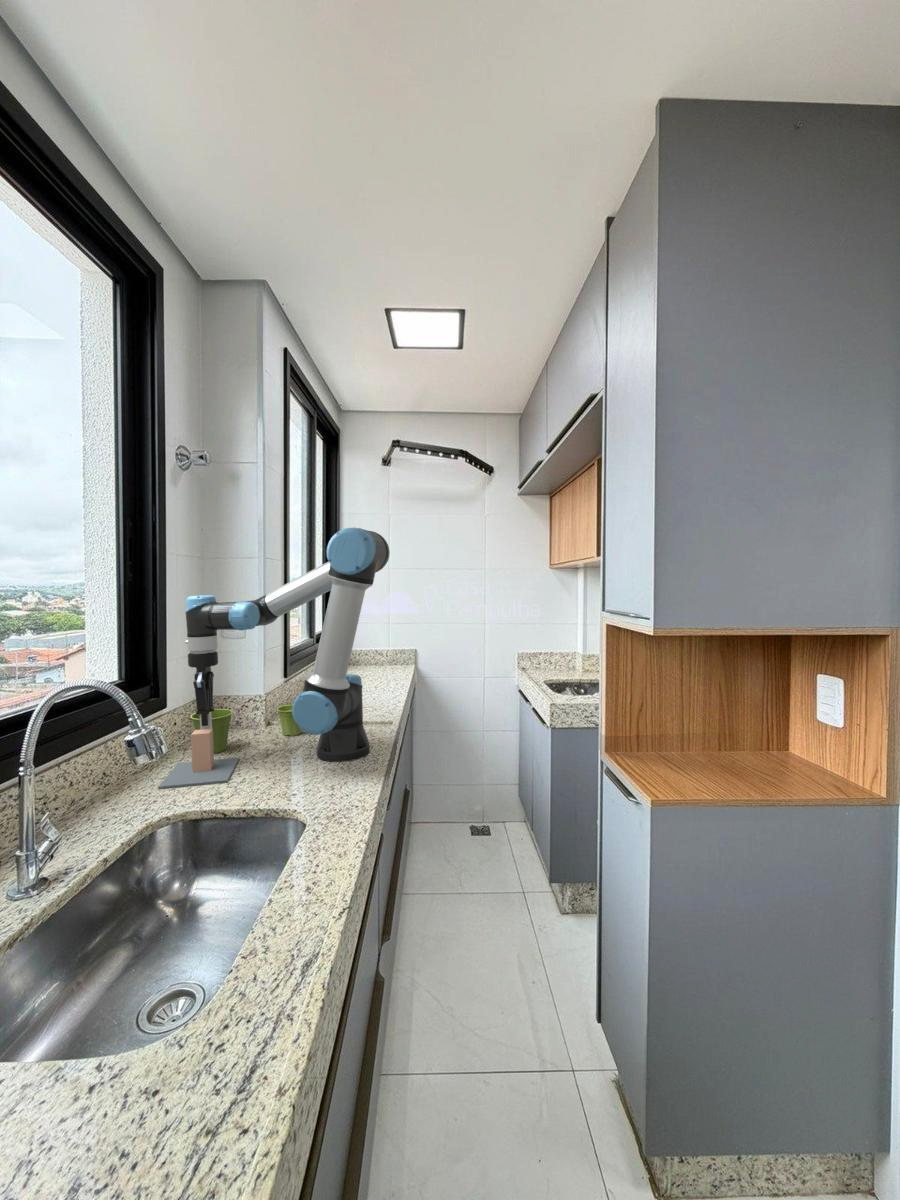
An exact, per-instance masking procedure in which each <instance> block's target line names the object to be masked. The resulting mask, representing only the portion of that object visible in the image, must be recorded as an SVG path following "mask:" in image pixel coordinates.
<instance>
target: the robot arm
mask: <svg viewBox="0 0 900 1200" xmlns="http://www.w3.org/2000/svg"><path fill="white" fill-rule="evenodd" d="M390 555H391V553H390V547H389V544H388V542H387V540H386V539H385V537H384V536H382V535H381V534H379V533H378V532H376V531H373V530H368V529H364V528H360V527H355V526H354V527H346V528H343V529H340V530H339V531H337V532H336V533H335V534H333V535H332V537H330V540H329V541H328V543H327V546H326V558H327V562H325V563H323V564H320V565H319V566H317V567H316V568H313V569H311V570H310V571H308V572H306V573H304V574H302V575H299V576H298V577H297V578H294V579H292V580H291V581H288V582H287V583H285V584H283V585H281V586H279V587H277V588H275V589H274V590H271V591H270V592H268V593H266V594H265V595H263V596H260V597H258V598H256V599H254V600H246V601H245V600H244V601H229V602H228V601H227V602H218V601H217V600H216V597H215V596H214V595H212V594H211V595H208V594H207V595H190V596H188V597H187V598H185V612H184V613H185V619H186V620H185V621H186V630H187V631H186V633H187V634H186V638H187V639H186V640H185V641H184V643H185V644H186V645H187V651H188V652H189V653H188V654H187V663H188V664H187V666H188V667H190V668H195V669H196V671H195V673H194V680H193V682H192V683H193V687H194V694H195V702H196V703H195V704H196V710H197V711H196V712H195V713H196V714H200V730H202V729H212V716H211V711H214V709H215V708H214V676H215V674H214V672H213V671H212V668H211V667H214V666H217V665H218V664H219V654H218V653H219V652H218V648H219V647H218V645H219V644H218V633H217V632H218V631H223V630H224V631H225V630H226V631H231V630H232V631H247V630H253V629H255V628H256V627H259V626H261V627H262V626H267V625H270V624H272V623H274V622H275V621H276V620H277V619H278V618H280V617H281V616H283V615H285V614H287V613H289V612H291V611H293V610H295V609H296V608H299V607H300V606H302V605H303V606H304V604H306V603H308V602H311V601H312V600H314V599H316V598H318V597H320V596H323V595H324V594H326V593H328V592H330V593H329V597H328V602H327V608H326V612H325V615H324V621H323V625H322V630H321V634H320V639H319V643H318V647H317V651H316V652H317V653H316V656H315V661H314V666H313V669H312V670H313V671H312V672H311V673H309V674H307V675H306V676H305V679H304V684H303V688H302V692H301V693H299V694H298V695H297V696H296V698H295V700H294V701H293V703H292V705H293V707H292V714H293V718H294V721H295V722H296V723H297V725H298V727H299V728H300V729H302V732H305V733H307V734H309V735H313V736H315V735H316V736H319V739H318V742H317V746H316V758H318V759H319V760H321V761H325V762H334V763H337V762H339V763H340V762H351V761H355V760H359V759H361V758H364V757H366V756H368V755H369V754H370V753H371V747H370V744H371V743H370V740H369V738H368V735H367V733H366V729H365V727H364V713H363V709H364V707H363V682H362V676H360V675H358V674H356V673H355V674H353V673H351V674H350V673H349V674H348V669H349V664H350V659H351V655H352V650H353V647H354V642H355V639H356V633H357V629H358V625H359V620H360V616H361V612H362V607H363V601H364V597H365V593H366V590H368V589H369V588H371V587H372V586H373V585H374V581H375V575H376V573H378V572H379V571H382V570H383V569H384V568H385V566H386V565H387V563H388V562H389V559H390Z"/></svg>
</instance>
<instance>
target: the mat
mask: <svg viewBox="0 0 900 1200" xmlns="http://www.w3.org/2000/svg"><path fill="white" fill-rule="evenodd" d="M239 761H240V757H232V758H231V757H229V758H218V759H214V766H213V768H212V769H211V770H210V771H200V772H193V770H192V761H186V762H185V761H183V762H177V764H176V765H175V766H174V767H173V769H172V770H171V771H170V772H169V773H168V774H167V776H166V777H165V778H163V781H162V782H161V783H160V784H159V785H158V786H157V789H158V790H164V789H174V788H185V787H194V786H195V787H196V786H206V785H215V784H224V783H225V784H227V783H228V782H229V781H230V779H231V776H232V775H233V773H234V771H235V769H236V767H237V765H238V762H239Z"/></svg>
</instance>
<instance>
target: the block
mask: <svg viewBox="0 0 900 1200" xmlns="http://www.w3.org/2000/svg"><path fill="white" fill-rule="evenodd" d="M190 742H191V743H190V745H191V762H192V770H193V772H200V771H210V770H211V769H212V768H213V766H214V760H215V753H214V748H213V729H202V730H193V732H191V734H190Z"/></svg>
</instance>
